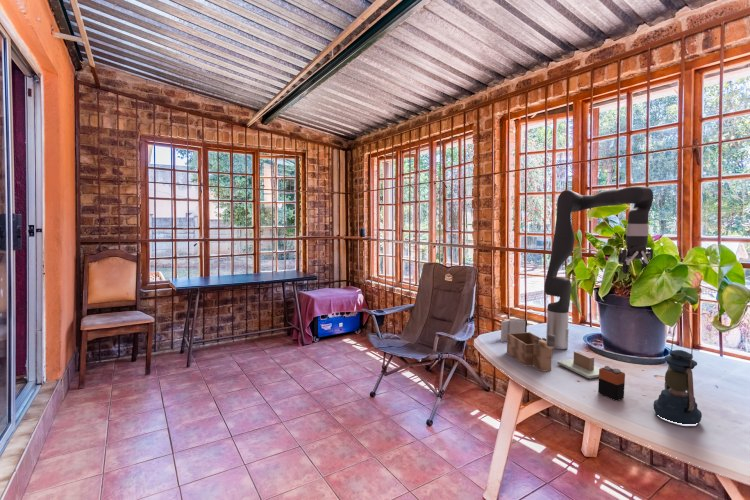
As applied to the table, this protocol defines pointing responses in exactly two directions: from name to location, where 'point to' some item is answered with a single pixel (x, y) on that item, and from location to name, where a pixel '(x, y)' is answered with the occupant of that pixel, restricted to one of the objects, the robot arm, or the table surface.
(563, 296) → the robot arm
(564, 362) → the lid
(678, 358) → the lantern
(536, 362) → the toolbox
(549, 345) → the bolt
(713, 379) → the table surface
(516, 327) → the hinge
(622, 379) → the battery
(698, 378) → the table surface
